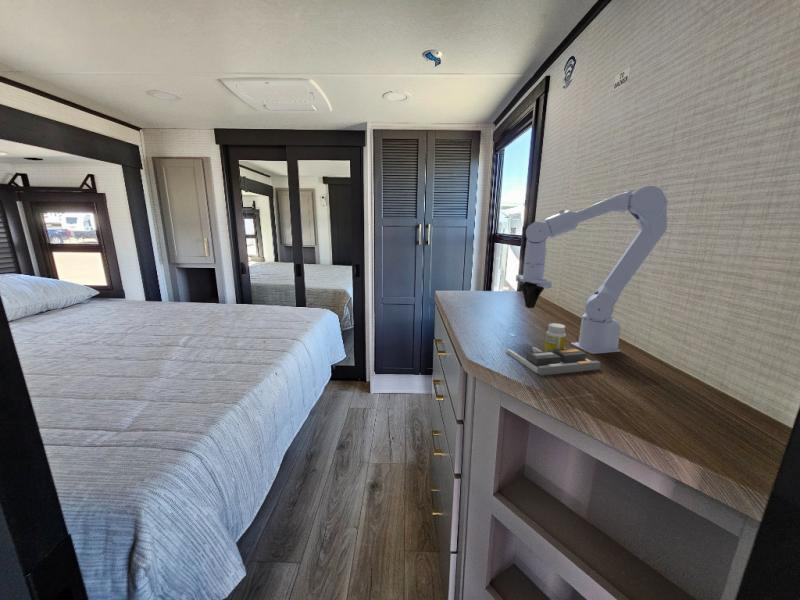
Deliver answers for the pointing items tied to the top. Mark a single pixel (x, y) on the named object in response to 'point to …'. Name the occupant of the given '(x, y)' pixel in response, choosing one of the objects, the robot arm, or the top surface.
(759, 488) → the top surface
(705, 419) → the top surface
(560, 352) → the breaker
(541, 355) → the block
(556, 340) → the supplement bottle
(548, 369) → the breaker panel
